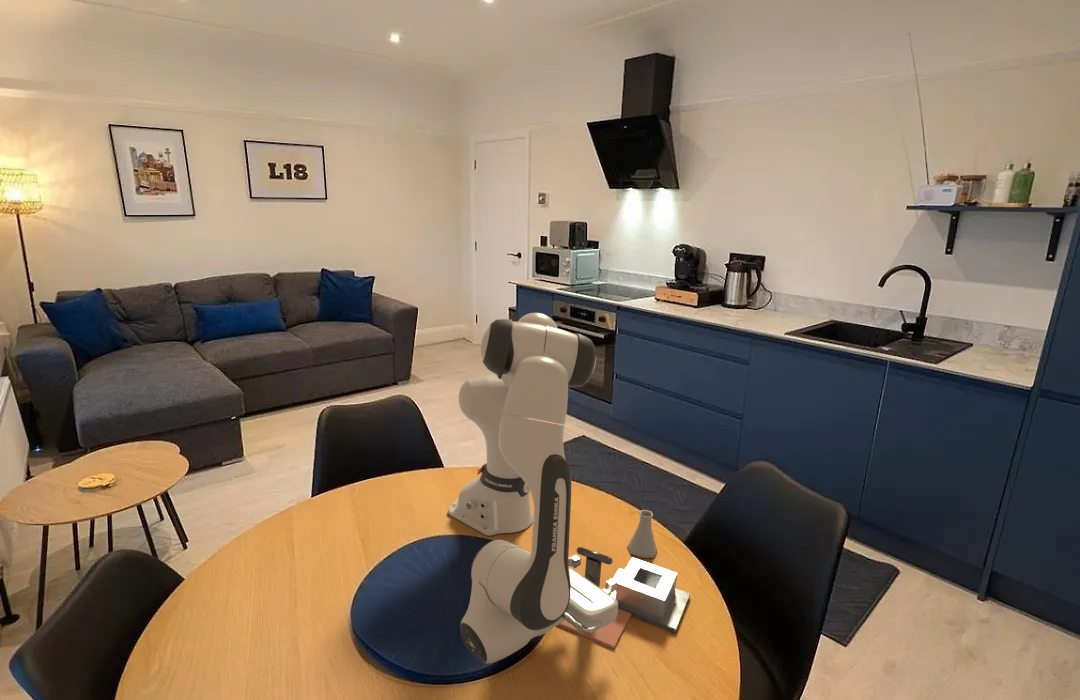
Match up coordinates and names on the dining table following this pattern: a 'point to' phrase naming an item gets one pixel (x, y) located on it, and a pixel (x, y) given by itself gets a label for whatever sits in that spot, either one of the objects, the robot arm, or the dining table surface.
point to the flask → (643, 537)
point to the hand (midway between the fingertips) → (596, 571)
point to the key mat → (605, 630)
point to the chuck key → (593, 564)
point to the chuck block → (650, 594)
